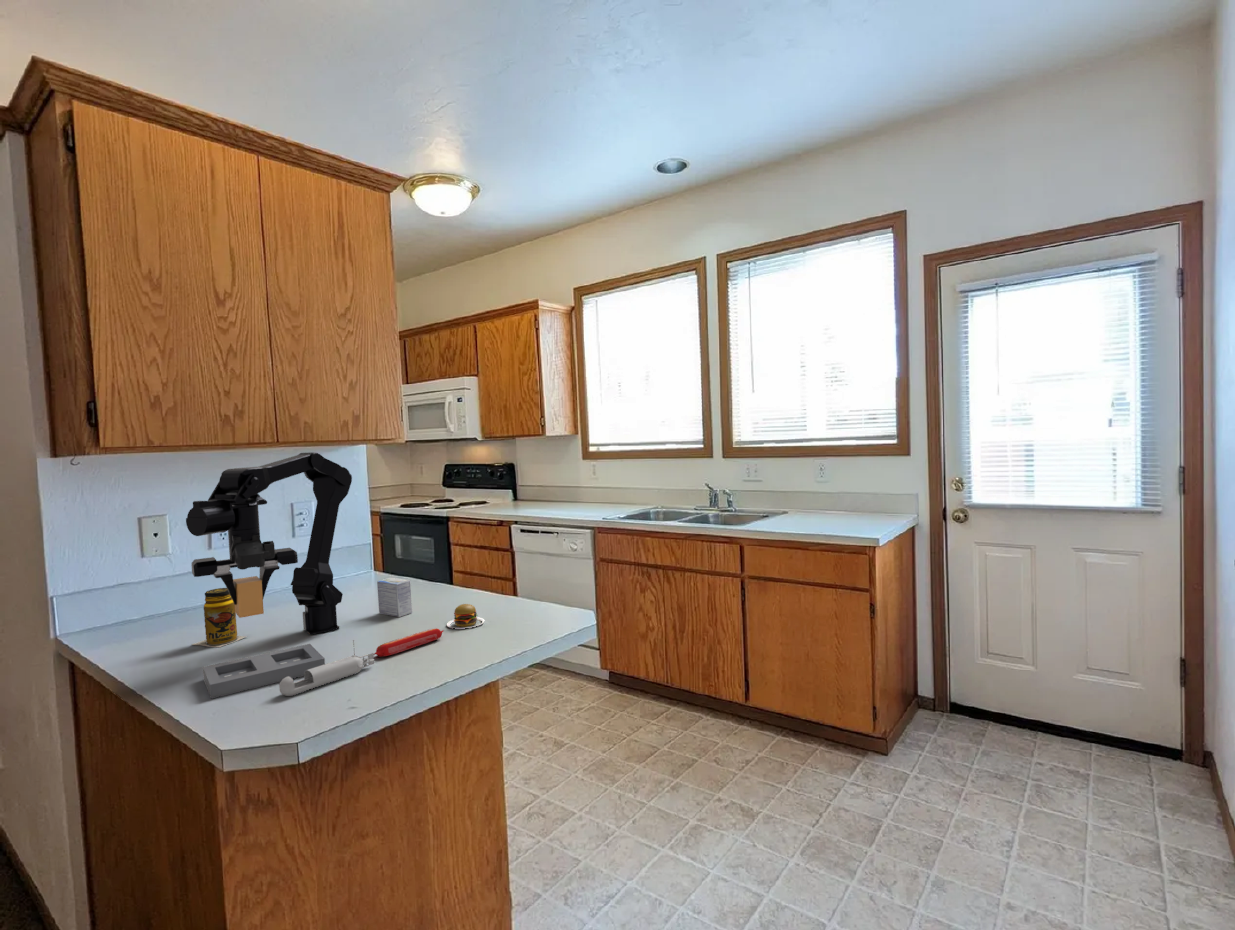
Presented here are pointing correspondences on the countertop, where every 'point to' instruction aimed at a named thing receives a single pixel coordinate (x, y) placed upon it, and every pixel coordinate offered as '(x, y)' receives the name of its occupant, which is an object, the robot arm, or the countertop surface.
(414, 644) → the red sausage
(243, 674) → the socket plate
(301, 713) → the countertop surface
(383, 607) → the medicine box
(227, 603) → the condiment
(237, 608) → the plug
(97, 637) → the countertop surface
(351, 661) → the torpedo
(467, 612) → the hamburger
